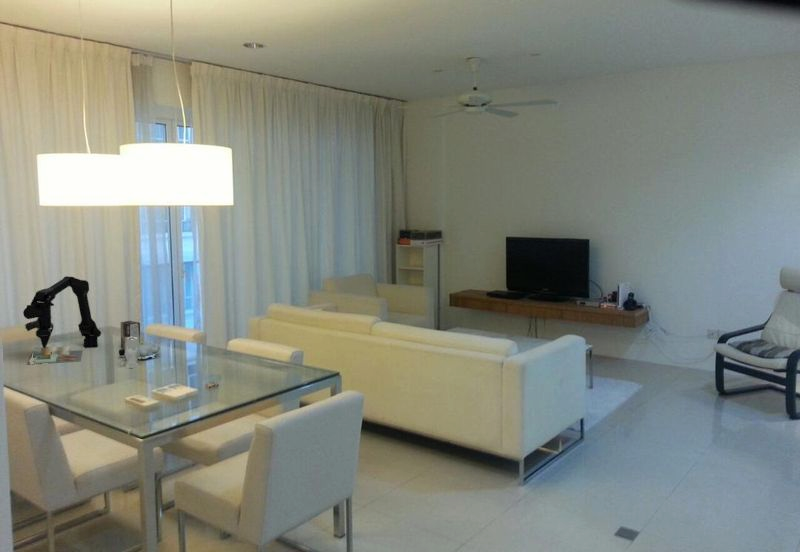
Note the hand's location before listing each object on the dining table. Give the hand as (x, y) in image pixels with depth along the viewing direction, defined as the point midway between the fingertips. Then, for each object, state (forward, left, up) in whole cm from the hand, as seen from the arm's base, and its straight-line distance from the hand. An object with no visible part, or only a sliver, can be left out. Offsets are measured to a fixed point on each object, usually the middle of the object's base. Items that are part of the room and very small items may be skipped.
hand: (45, 345), depth 312 cm
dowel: (0, 0, -7) cm, 7 cm away
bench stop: (+5, -12, -8) cm, 15 cm away
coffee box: (-40, -12, -9) cm, 43 cm away
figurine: (-44, +4, -9) cm, 45 cm away
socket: (-10, 0, -8) cm, 13 cm away
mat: (-4, -6, -8) cm, 11 cm away
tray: (0, 0, -8) cm, 8 cm away
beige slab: (-6, -12, -8) cm, 16 cm away
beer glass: (-40, +22, -8) cm, 46 cm away
